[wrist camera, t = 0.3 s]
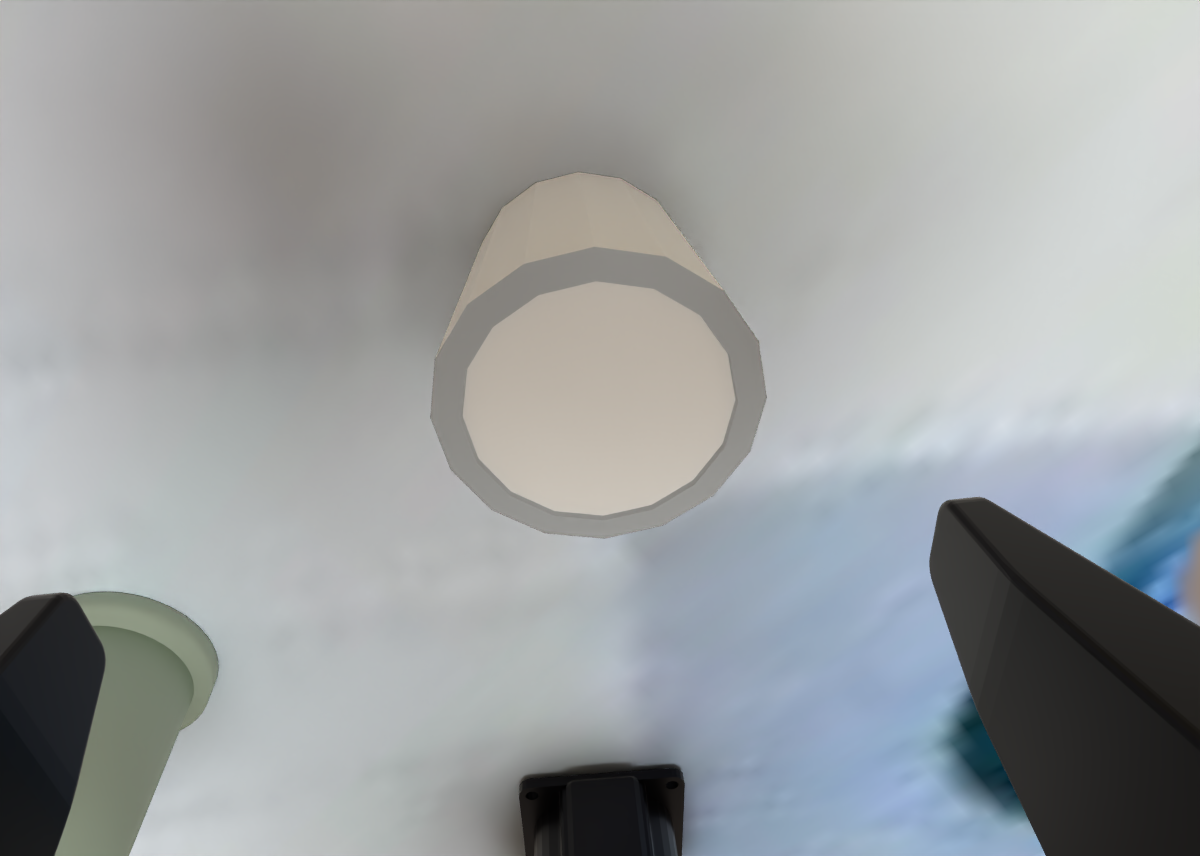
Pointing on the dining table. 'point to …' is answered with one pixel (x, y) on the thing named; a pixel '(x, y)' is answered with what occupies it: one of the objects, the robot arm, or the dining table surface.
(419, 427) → the dining table surface
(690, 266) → the off-white cylinder
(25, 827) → the robot arm
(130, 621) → the sage green knob
